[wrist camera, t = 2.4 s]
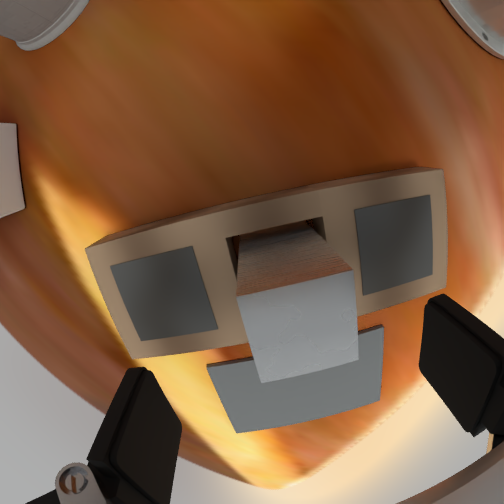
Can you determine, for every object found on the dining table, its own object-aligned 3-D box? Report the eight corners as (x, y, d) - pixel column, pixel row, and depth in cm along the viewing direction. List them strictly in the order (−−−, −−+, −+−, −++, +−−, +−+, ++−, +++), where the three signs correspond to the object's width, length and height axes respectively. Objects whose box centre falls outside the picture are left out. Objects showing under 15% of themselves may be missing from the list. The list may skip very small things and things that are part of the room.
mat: (381, 324, 20) (383, 326, 20) (378, 397, 23) (379, 400, 23) (206, 364, 21) (206, 367, 21) (236, 430, 24) (236, 433, 23)
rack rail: (418, 166, 17) (444, 169, 14) (424, 271, 19) (446, 287, 16) (105, 236, 18) (83, 249, 15) (144, 335, 20) (131, 360, 17)
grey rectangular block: (302, 218, 18) (353, 270, 9) (312, 276, 19) (358, 359, 10) (240, 232, 18) (236, 297, 9) (254, 289, 19) (261, 383, 11)
